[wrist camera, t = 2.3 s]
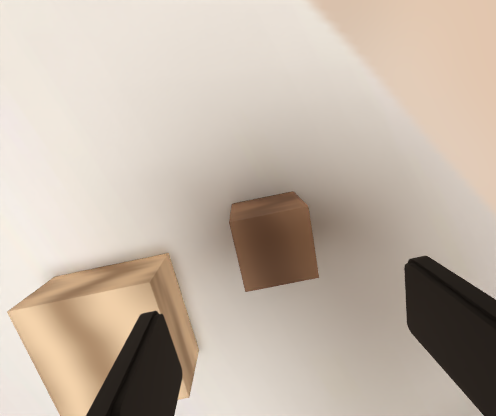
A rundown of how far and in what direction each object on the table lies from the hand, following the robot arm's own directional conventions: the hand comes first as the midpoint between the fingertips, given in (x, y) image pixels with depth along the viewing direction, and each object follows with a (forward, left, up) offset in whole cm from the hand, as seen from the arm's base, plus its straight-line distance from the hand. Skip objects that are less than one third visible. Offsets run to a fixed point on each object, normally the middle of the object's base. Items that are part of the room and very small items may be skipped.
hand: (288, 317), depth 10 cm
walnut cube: (0, +1, -12) cm, 12 cm away
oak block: (+13, +6, -12) cm, 19 cm away
